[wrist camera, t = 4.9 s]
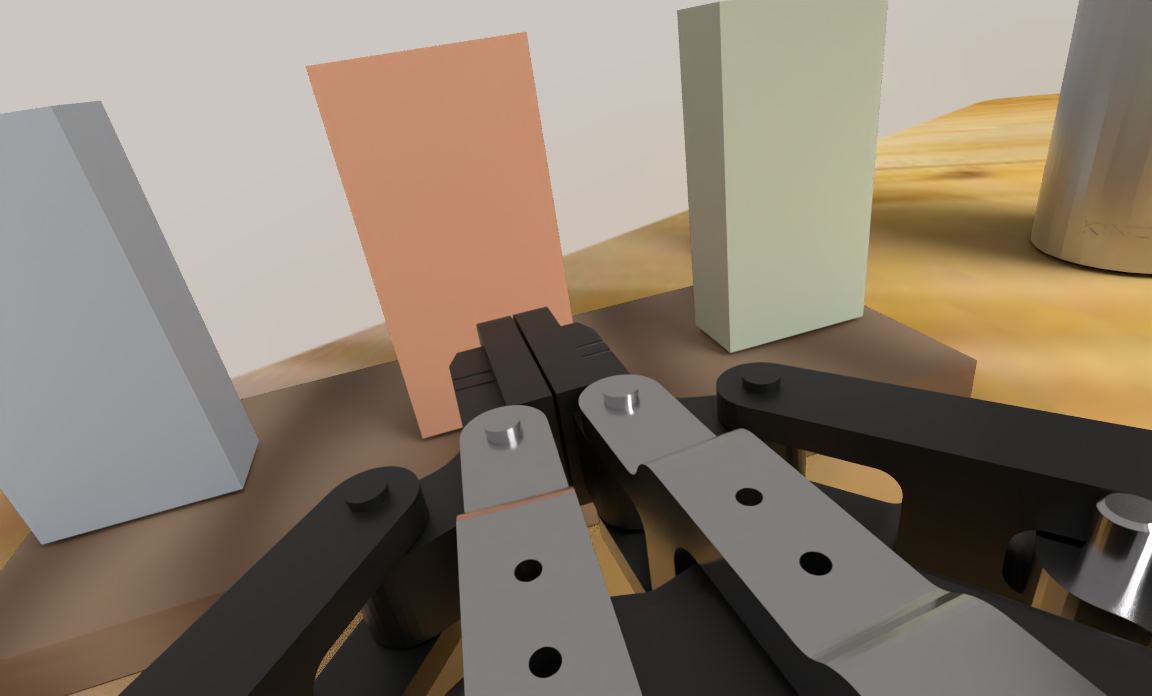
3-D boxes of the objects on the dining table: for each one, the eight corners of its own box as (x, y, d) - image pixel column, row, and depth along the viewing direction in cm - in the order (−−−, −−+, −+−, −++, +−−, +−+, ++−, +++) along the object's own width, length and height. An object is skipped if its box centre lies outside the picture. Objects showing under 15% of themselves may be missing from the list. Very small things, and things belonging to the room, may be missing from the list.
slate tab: (259, 440, 23) (101, 100, 17) (242, 488, 20) (50, 106, 15) (83, 487, 22) (-145, 139, 16) (41, 544, 19) (-247, 152, 14)
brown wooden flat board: (779, 295, 32) (779, 263, 31) (969, 403, 22) (977, 360, 21) (126, 467, 26) (105, 433, 25) (-45, 730, 16) (-89, 687, 15)
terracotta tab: (563, 359, 25) (507, 37, 20) (584, 393, 22) (526, 31, 17) (418, 398, 24) (316, 67, 18) (422, 438, 21) (305, 66, 16)
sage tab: (816, 292, 27) (829, -14, 22) (863, 316, 25) (890, -25, 19) (695, 324, 26) (677, 10, 21) (730, 352, 24) (719, 1, 18)
